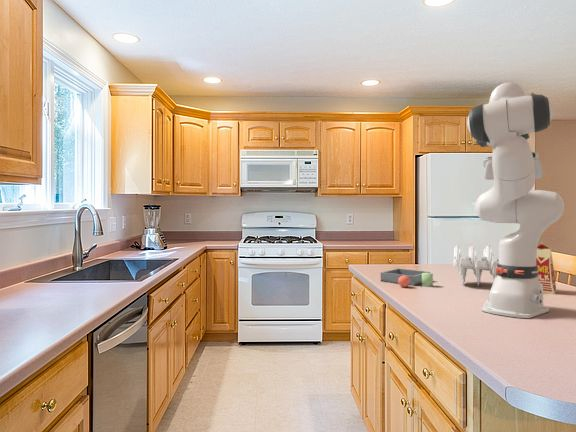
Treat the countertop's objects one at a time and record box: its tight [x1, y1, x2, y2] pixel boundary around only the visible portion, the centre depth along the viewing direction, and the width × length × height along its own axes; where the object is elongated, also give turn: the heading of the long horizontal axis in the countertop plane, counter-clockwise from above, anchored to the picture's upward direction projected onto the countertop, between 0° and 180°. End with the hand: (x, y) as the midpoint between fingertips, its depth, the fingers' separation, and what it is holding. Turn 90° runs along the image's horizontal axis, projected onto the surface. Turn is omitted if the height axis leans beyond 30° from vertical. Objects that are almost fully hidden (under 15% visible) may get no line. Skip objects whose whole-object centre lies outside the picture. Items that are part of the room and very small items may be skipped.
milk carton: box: [536, 240, 557, 295], centre depth 165 cm, size 9×9×20 cm
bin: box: [380, 267, 431, 287], centre depth 187 cm, size 16×16×4 cm
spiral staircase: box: [453, 243, 499, 287], centre depth 176 cm, size 18×18×25 cm
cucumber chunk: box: [421, 272, 434, 288], centre depth 176 cm, size 4×4×5 cm
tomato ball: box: [398, 276, 410, 288], centre depth 173 cm, size 5×5×5 cm
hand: (512, 190), depth 164 cm, fingers open, 8 cm apart
